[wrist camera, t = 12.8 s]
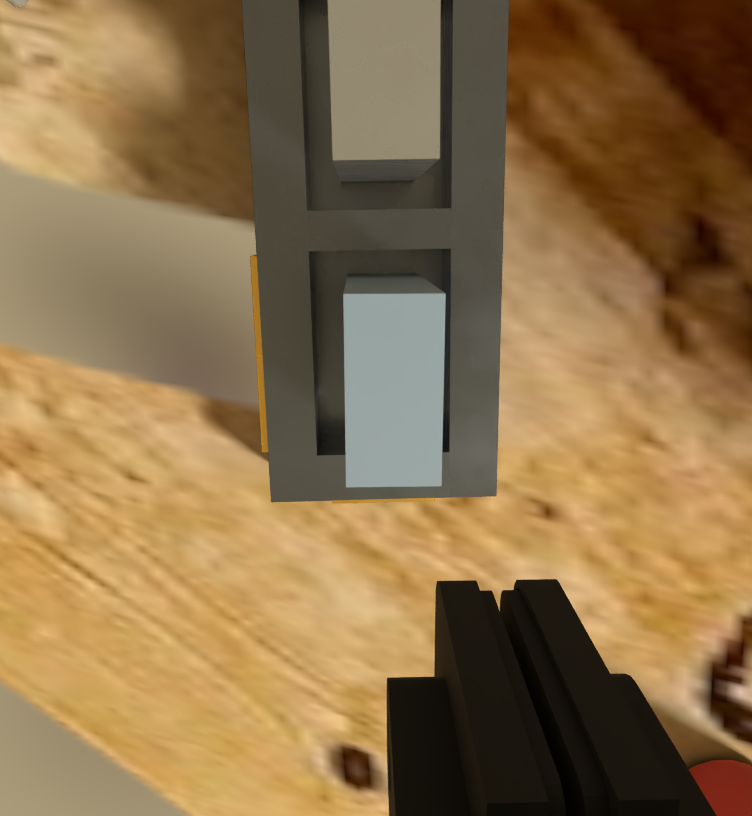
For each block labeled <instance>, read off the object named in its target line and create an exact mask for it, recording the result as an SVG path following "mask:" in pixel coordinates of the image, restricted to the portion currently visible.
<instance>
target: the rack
mask: <svg viewBox="0 0 752 816" xmlns="http://www.w3.org/2000/svg"><path fill="white" fill-rule="evenodd" d="M242 13H243V30H244V48H245V65H246V82H247V99H248V116H249V133H250V150H251V167H252V184H253V201H254V218H255V235H256V252H257V255H254V256H250V264H251V278H252V296H253V313H254V329H255V346H256V361H257V379H258V395H259V412H260V428H261V444H262V452H268V458H269V475H270V492H271V502H295V501H332V504H337V503H374V502H411V501H435V498H445V497H482V496H496V489H497V450H498V411H499V372H500V332H501V293H502V254H503V215H504V176H505V136H506V97H507V58H508V19H509V0H242ZM415 273H417V274H419V275H420V276H422V277H423V278H424V279H426V280H427V281H429V282H430V283H432V284H433V285H434V286H436V287H437V288H439V289H440V290H441V291H443V292H444V293H446V303H445V349H444V395H443V442H442V486H423V487H346V452H345V379H344V307H343V293H344V289H345V284H346V279H347V275H348V274H415Z"/></svg>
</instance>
